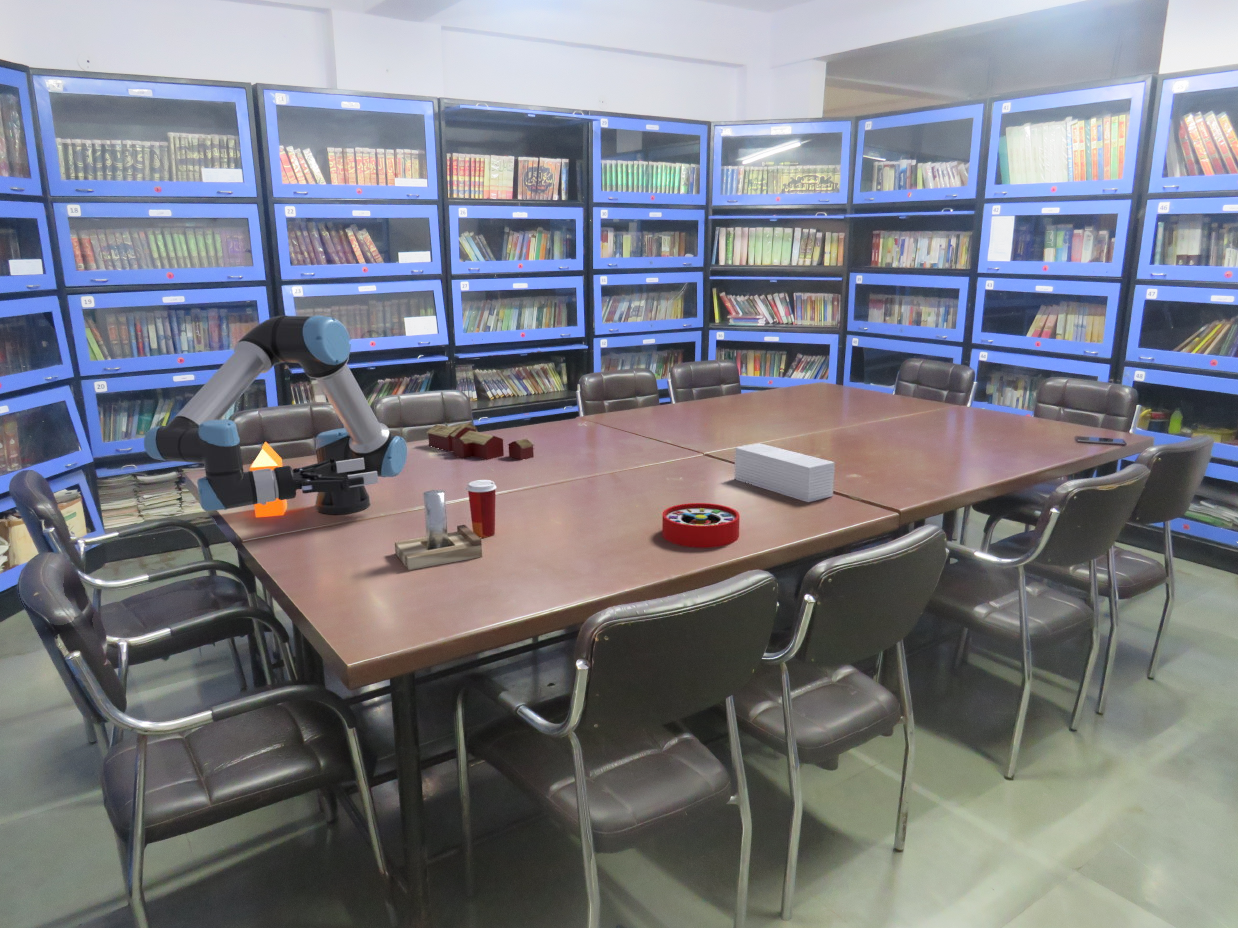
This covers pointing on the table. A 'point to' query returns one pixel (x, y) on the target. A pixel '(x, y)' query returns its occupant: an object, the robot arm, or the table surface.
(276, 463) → the orange juice
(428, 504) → the brushed metal cylinder
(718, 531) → the toy clock
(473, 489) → the paper cup
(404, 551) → the frame
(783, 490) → the stack of papers
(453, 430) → the toy houses
